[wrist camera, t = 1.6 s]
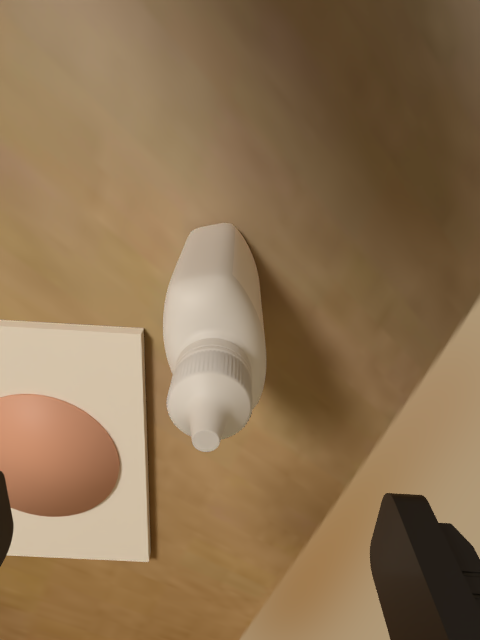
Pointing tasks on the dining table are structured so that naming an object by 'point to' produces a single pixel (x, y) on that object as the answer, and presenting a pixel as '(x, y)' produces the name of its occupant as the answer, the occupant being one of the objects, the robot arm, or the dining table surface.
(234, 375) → the eye dropper bottle
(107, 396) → the card
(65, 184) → the dining table surface
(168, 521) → the dining table surface
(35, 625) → the dining table surface
